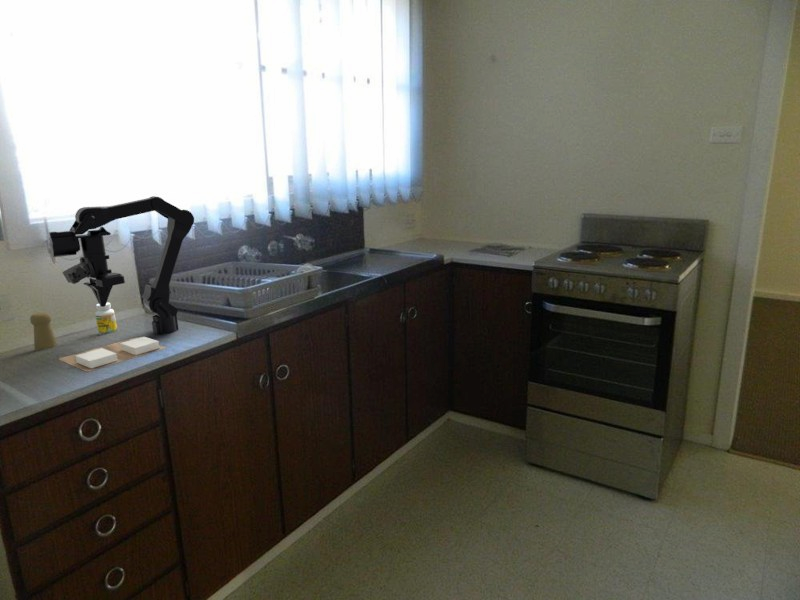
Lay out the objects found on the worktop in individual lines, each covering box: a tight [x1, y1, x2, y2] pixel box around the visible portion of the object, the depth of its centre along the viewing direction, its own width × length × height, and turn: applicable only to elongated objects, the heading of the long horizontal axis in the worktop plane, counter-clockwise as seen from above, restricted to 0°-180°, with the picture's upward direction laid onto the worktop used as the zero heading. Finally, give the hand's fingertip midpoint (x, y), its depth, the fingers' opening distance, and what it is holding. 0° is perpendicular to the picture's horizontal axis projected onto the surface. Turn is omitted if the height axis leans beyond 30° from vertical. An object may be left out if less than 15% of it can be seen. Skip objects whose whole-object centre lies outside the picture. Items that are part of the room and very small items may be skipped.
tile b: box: [75, 348, 118, 368], centre depth 155 cm, size 7×2×8 cm
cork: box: [29, 311, 58, 352], centre depth 169 cm, size 6×6×11 cm
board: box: [57, 337, 167, 373], centre depth 162 cm, size 22×17×1 cm
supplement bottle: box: [94, 301, 118, 335], centre depth 183 cm, size 5×5×10 cm
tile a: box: [120, 336, 161, 355], centre depth 164 cm, size 7×2×8 cm
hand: (102, 306), depth 168 cm, fingers closed
